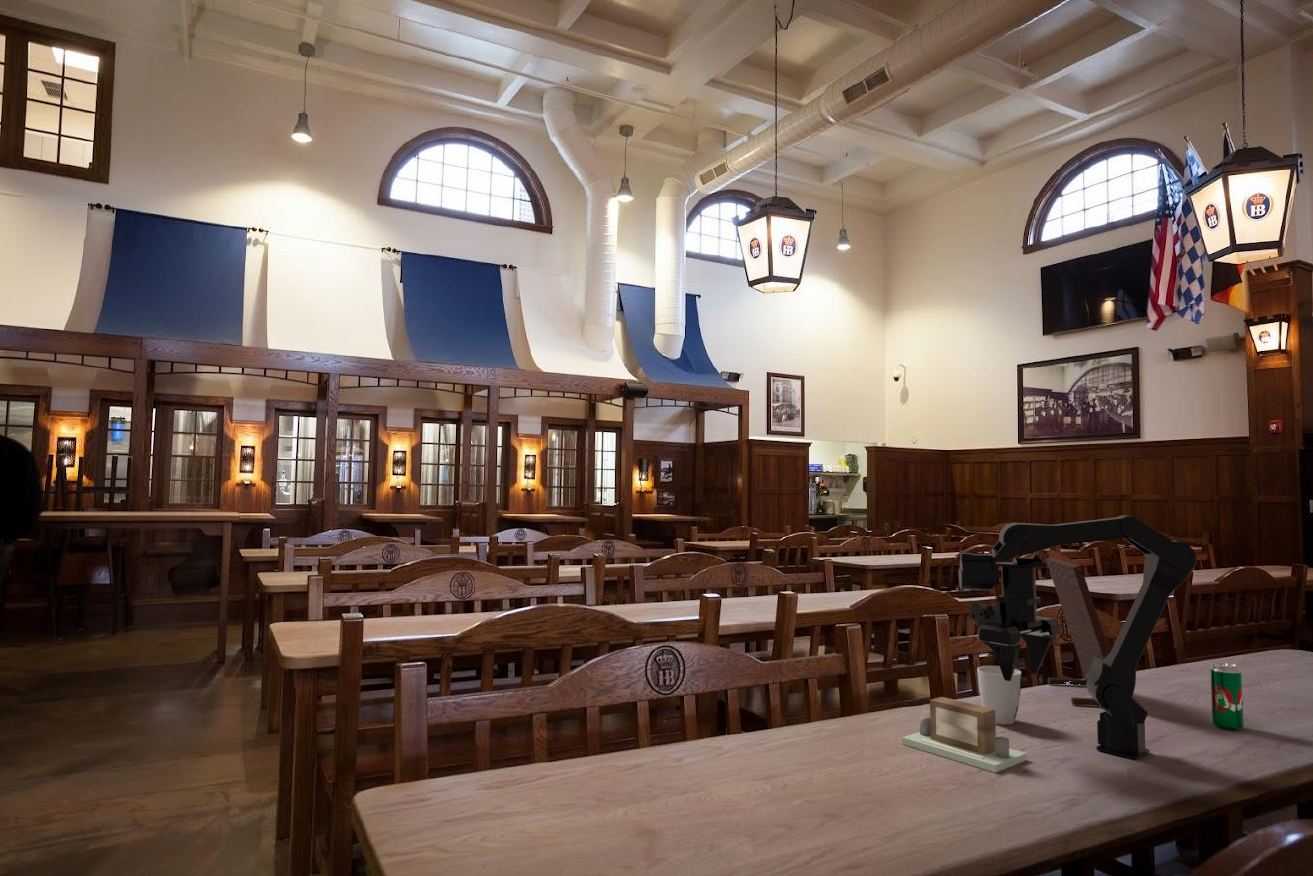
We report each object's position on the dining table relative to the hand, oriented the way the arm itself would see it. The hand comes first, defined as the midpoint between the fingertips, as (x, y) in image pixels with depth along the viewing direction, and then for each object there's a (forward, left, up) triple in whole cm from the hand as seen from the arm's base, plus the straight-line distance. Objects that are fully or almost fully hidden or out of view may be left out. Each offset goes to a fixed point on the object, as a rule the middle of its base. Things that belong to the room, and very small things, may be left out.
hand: (1020, 677), depth 145 cm
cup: (+10, -10, -12) cm, 19 cm away
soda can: (-19, -42, -12) cm, 48 cm away
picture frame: (+9, -44, -12) cm, 47 cm away
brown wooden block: (+4, +13, -11) cm, 17 cm away
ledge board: (+4, +13, -12) cm, 18 cm away
